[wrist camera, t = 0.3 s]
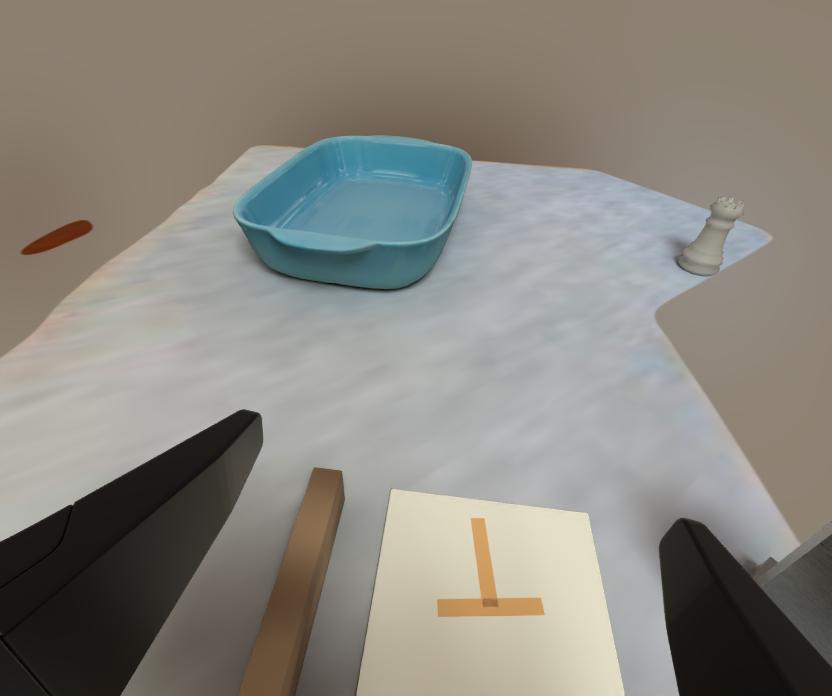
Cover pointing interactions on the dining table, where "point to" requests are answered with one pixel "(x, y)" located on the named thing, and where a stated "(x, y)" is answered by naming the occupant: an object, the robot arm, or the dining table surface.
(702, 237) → the rook chess piece
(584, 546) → the pad
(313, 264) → the casserole dish
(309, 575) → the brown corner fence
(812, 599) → the upright grey pillar block
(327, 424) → the dining table surface
